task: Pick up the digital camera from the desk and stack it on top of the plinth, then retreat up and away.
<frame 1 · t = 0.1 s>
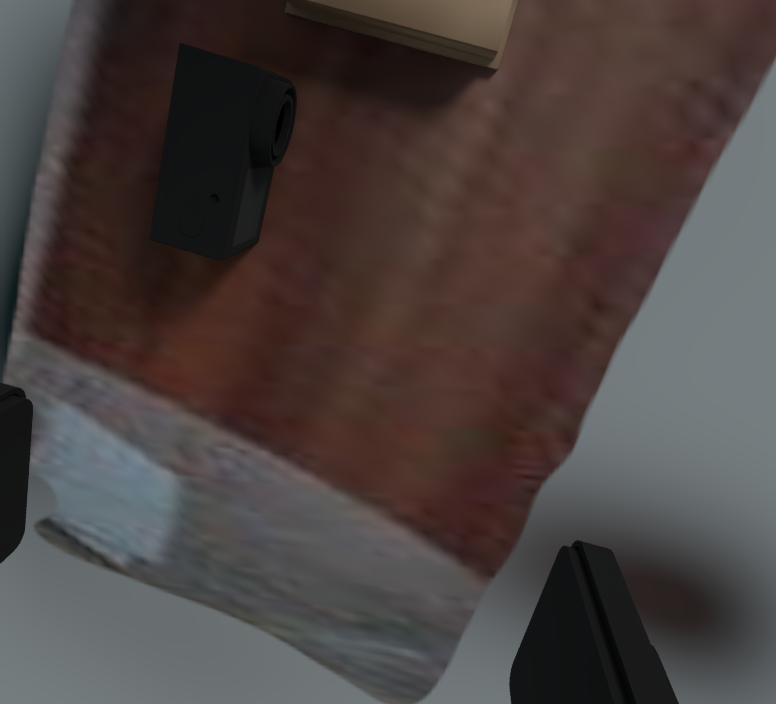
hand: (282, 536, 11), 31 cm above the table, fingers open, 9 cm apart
digital camera: (252, 159, 39), on the table
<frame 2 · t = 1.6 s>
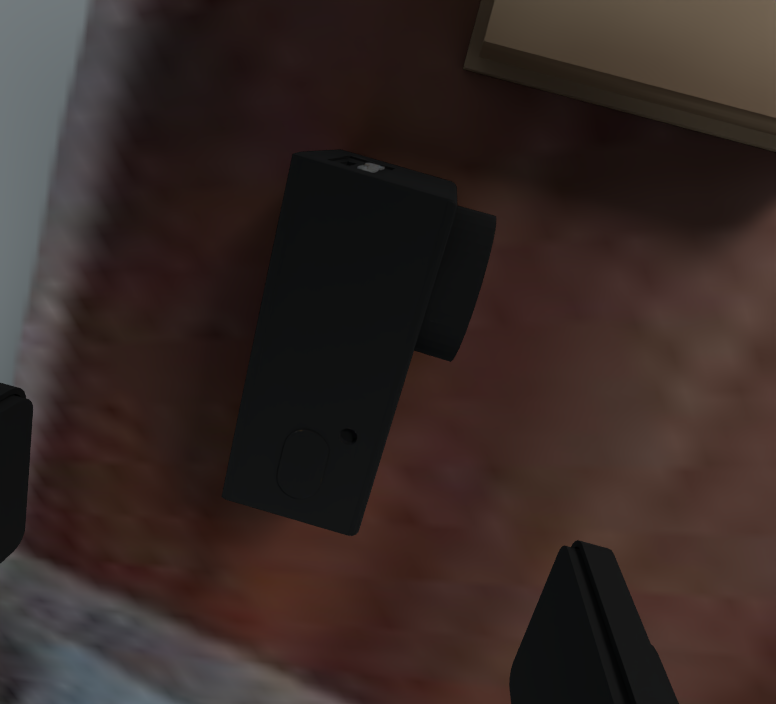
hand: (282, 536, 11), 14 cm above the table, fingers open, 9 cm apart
digital camera: (378, 306, 23), on the table
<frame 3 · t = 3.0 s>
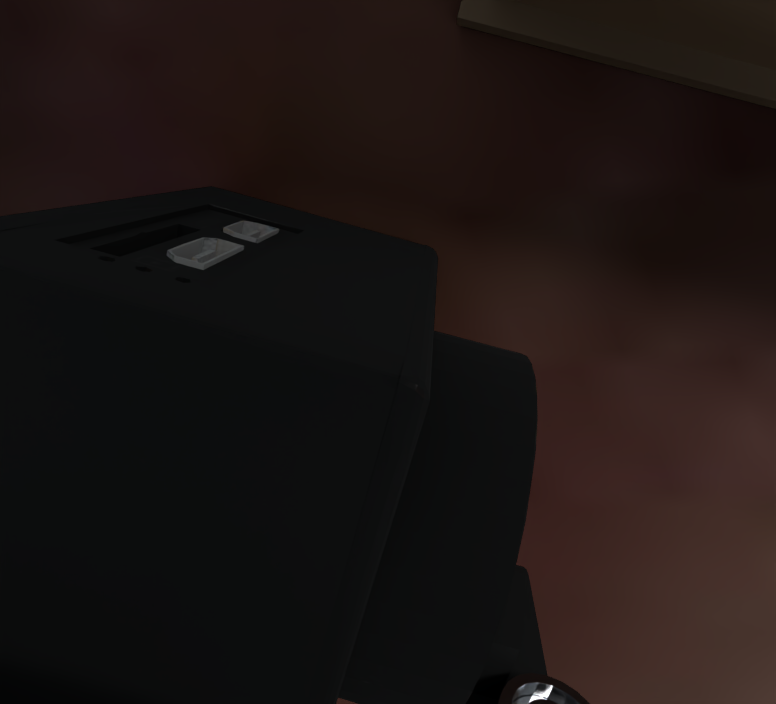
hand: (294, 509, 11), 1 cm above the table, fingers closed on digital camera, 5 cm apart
digital camera: (301, 464, 13), on the table, touching gripper
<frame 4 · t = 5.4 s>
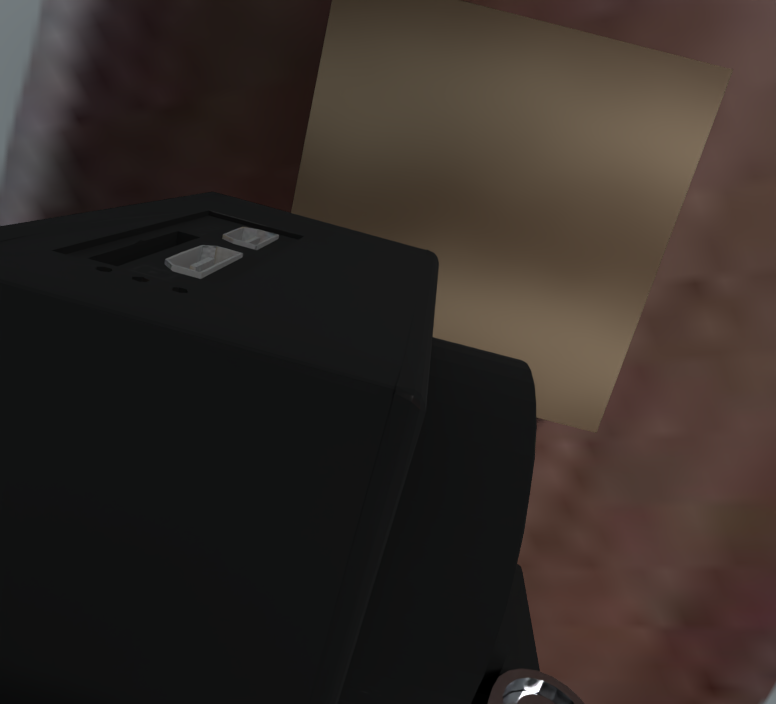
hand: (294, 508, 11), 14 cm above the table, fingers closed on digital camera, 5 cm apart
digital camera: (303, 469, 13), point 13 cm above the table, touching gripper
plinth: (471, 213, 24), on the table
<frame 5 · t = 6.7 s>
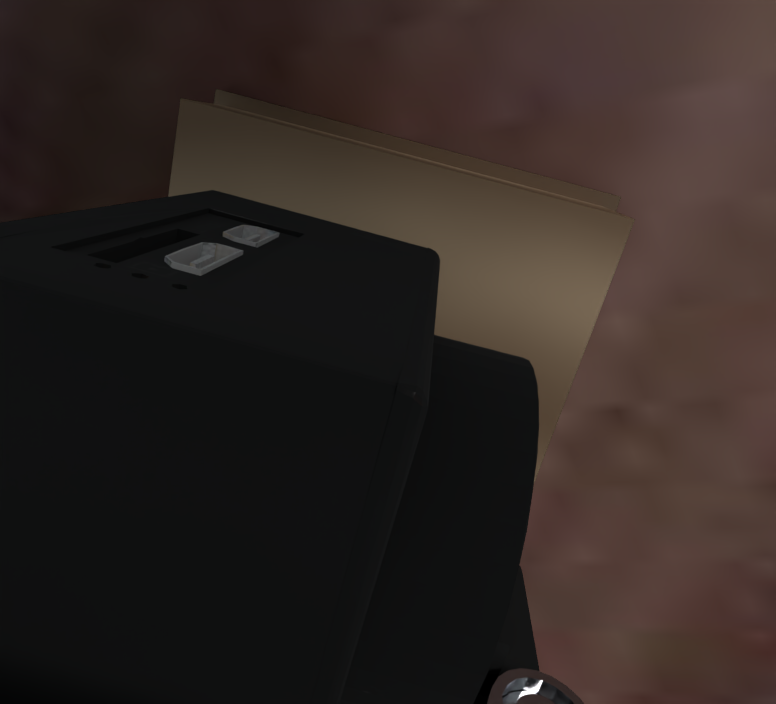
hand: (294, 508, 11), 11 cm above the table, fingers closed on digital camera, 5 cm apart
digital camera: (304, 468, 13), point 9 cm above the table, touching gripper
plinth: (370, 330, 21), on the table
when the fingers open (7 cm above the table, at t = 7.8 s): digital camera drops 1 cm, resting on plinth.
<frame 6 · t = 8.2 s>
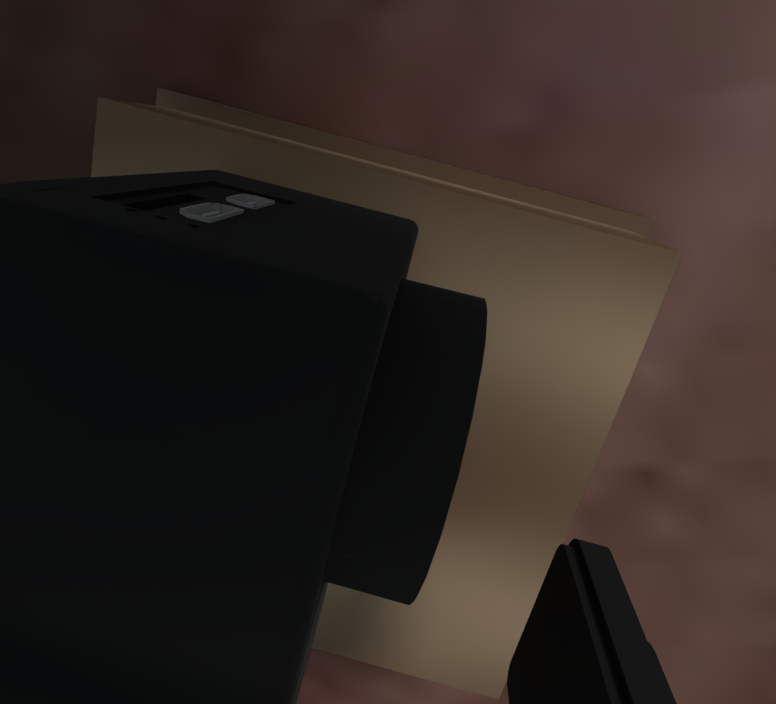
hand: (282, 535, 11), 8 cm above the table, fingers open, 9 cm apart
digital camera: (301, 423, 14), point 4 cm above the table, touching plinth
plinth: (350, 377, 18), on the table
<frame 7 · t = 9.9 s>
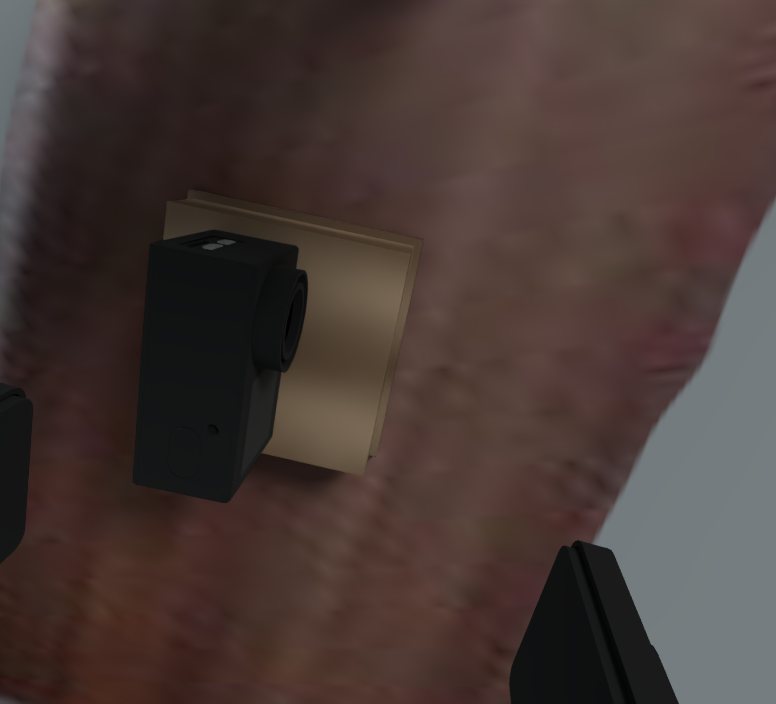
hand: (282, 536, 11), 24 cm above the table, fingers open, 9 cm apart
digital camera: (257, 340, 31), point 4 cm above the table, touching plinth
plinth: (289, 326, 35), on the table
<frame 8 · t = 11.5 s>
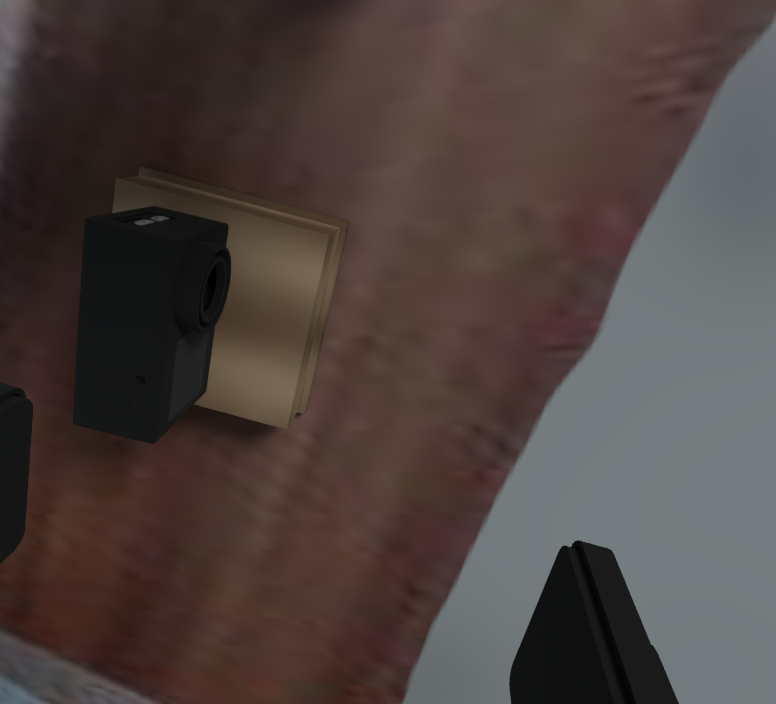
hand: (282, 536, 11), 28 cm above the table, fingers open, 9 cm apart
digital camera: (193, 305, 35), point 4 cm above the table, touching plinth
plinth: (229, 295, 39), on the table
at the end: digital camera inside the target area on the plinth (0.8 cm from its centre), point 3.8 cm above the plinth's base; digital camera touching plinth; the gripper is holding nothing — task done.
